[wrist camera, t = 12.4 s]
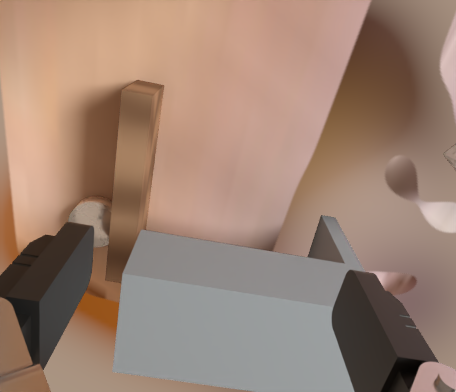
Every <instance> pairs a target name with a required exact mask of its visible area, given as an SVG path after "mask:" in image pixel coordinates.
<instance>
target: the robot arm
mask: <svg viewBox="0 0 456 392" xmlns="http://www.w3.org/2000/svg"><path fill="white" fill-rule="evenodd" d="M93 246H94V227H93V226H91V225H85V224H79V223H73V222H67V223H66V224H65V225H64V226H63V227H62V228H61V230H60V231H59V232H58V233H57V235H56V236H50V235H44V236H42V237H40V238H38V239H36V240H34V241H32V242H30V243H29V245H28V246H27V247H26V248H25V249H24V250H23V251H22V252H21V254H20V255H19V256H18V257H17V258H16V259H15V260H14V261H13V263H12V264H10V265H9V267H8V268H7V269H6V270H5V271H4V272H3V273H2V274H1V275H0V392H51V391H50V388H49V385H48V383H47V380H46V377H45V375H44V372H43V370H44V368H45V366H46V364H47V362H48V360H49V358H50V357H51V355H52V353H53V351H54V349H55V347H56V345H57V343H58V342H59V340H60V338H61V336H62V334H63V332H64V330H65V328H66V327H67V325H68V323H69V321H70V319H71V317H72V315H73V313H74V311H75V310H76V308H77V306H78V304H79V302H80V300H81V299H82V296H83V295H84V293H85V291H86V289H87V287H88V284H89V281H90V277H91V273H92V262H93ZM332 328H333V331H334V334H335V337H336V339H337V342H338V345H339V348H340V351H341V354H342V357H343V360H344V363H345V366H346V368H347V371H348V374H349V377H350V380H351V383H352V386H353V389H354V392H456V370H454V369H452V368H451V367H449V366H447V365H444V364H441V363H439V362H438V360H437V359H436V357H435V356H434V354H433V352H432V351H431V349H430V348H429V346H428V344H427V343H426V341H425V340H424V338H423V336H422V335H421V333H420V332H419V330H418V329H416V325H415V324H414V322H413V321H412V319H411V318H410V316H409V314H408V313H407V311H406V309H405V308H404V306H403V305H402V303H401V302H400V301H399V300H398V299H396V298H395V297H394V296H393V295H392V294H391V293H390V292H388V291H385V290H384V288H383V286H382V285H381V283H380V281H379V280H378V278H377V276H376V275H375V274H374V273H369V272H363V271H357V270H349V271H348V272H347V273H346V275H345V278H344V280H343V283H342V286H341V288H340V291H339V294H338V296H337V299H336V301H335V304H334V307H333V310H332Z"/></svg>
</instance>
